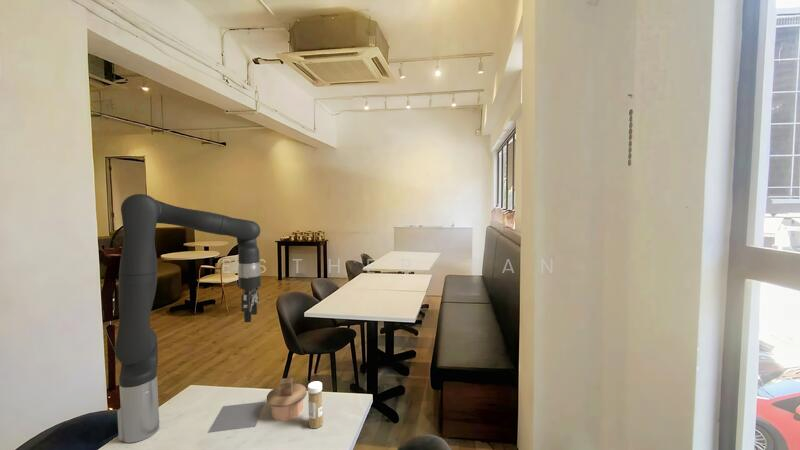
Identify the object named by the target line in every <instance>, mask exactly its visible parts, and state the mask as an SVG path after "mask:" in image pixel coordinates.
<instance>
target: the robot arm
mask: <svg viewBox="0 0 800 450" xmlns="http://www.w3.org/2000/svg"><path fill="white" fill-rule="evenodd" d="M120 212H121V220H122V229H123V233H122V234H123V241H122V242H123V244H122V249H121V255H120V261H119V271H118V313H119V318H118V326H117V327H118V328H117V334H116V340H115V345H114V355H115V358H116V359H117V360H118V361H119V362H120V363H121V366H120V372H119V376H118V383H119V399H120V400H119V401H120V408H119V409H117V411H116V413H117V415H116V417H117V431H118V442H124V443H127V444H133V443H137V442H140V441H143V440H146V439H148V438H149V437H151V436H153V435H155V434H156V433H157V432H158V431H159V429H160V412H159V410H160V409H159V408H160V407H159V405H160V404H159V389H158V388H159V387H158V365H159V363H158V361H159V357H158V356H159V355H158V354H159V353H158V336H157V333H156V332H155V330H154V329H152V328H151V320H150V319H151V313H152V309H153V304H154V300H155V297H156V291H157V285H158V260H157V259H158V258H157V257H158V256H157V250H156V243H155V237H156V229H157V224H162V225H163V224H166V225H171V226H178V227H183V228H186V229H190V230H193V231H197V232H202V233H207V234H212V235H217V236H218V235H219V236H228V237H232V238H236V242H237V247H238V249H237V250H238V269H237V275H238V289H240V290H244V293H242V294H241V295H240V297H241V299H240V300H241V312H242V313H243V319H244V323H251V322H252V316H253V315H254V316H255V315H257V314H258V303H259V300H260V298H259V296H260V295H259V288H260V287H261V286H262V275H261V273H262V270H261V269H262V268H261V264H260V263H261V262H260V259H261V258H260V249H259V246H258V244H257V242H258V241H257V238H258V237H259V236H260V234H261V227H260V225H259V224H258V223H257V222H256V221H253V220H249V219H244V218H243V219H242V218H237V217H231V216H228V215H224V214H220V213H215V212H211V211H205V210H199V209H191V208H186V207H185V208H184V207H181V206H176V205H173V204H168V203H165V202H162V201H160V200H158V199H155V198H153V197H152V196H150V195H147V194H143V193H136V194H131V195H129V196H128V197H126V198H125V199H124V200H123V201H122V203H121V206H120Z"/></svg>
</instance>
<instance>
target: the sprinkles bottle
mask: <svg viewBox="0 0 800 450" xmlns="http://www.w3.org/2000/svg"><path fill="white" fill-rule="evenodd" d="M322 390H323V382H321V381H319V380H317V381H316V380H315V381H311V382H310V383H308V385H307V394H308V402H307V403H308V420H309V422H308V427H310V428H311V429H318V428H321V427H322V426H323V424H324V419H323V411H324V410H323V392H322Z"/></svg>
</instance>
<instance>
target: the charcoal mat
mask: <svg viewBox="0 0 800 450" xmlns="http://www.w3.org/2000/svg"><path fill="white" fill-rule="evenodd" d="M265 402H266V401H258V402H250V403H240V404H231V405H223V406H222V408H221V409H220V411H219V413H218V414H217V416H216V417H215V419H214V421H213V423H212V425H211V426H210V428H209V430H208V431H207V434H210V433H217V432H223V431H224V432H225V431H232V430H241V429H249V428H255V427H256V426H257V423H258V421H259V419H260V416H261V413H262V411H263V409H264V406H265Z"/></svg>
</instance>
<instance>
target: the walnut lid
mask: <svg viewBox="0 0 800 450" xmlns="http://www.w3.org/2000/svg"><path fill="white" fill-rule="evenodd" d="M293 380H294V378H293V377H286V378H282V379H281V381H280V385H279V386H276V387H275V388H273V389H271V390H270V391H269V392H268V393H267V395H266V403H267V404H268V405H269V406H274V407H286V406H291V405H294V404H296V403H298V402H300V401H301V400H303V401H304V399H305V398H306V396H307V394H308V389H307V388H306V386H305V385H303V384H300V383H293V382H294V381H293Z"/></svg>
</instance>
